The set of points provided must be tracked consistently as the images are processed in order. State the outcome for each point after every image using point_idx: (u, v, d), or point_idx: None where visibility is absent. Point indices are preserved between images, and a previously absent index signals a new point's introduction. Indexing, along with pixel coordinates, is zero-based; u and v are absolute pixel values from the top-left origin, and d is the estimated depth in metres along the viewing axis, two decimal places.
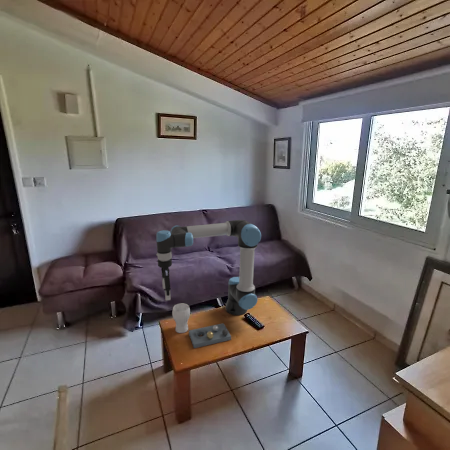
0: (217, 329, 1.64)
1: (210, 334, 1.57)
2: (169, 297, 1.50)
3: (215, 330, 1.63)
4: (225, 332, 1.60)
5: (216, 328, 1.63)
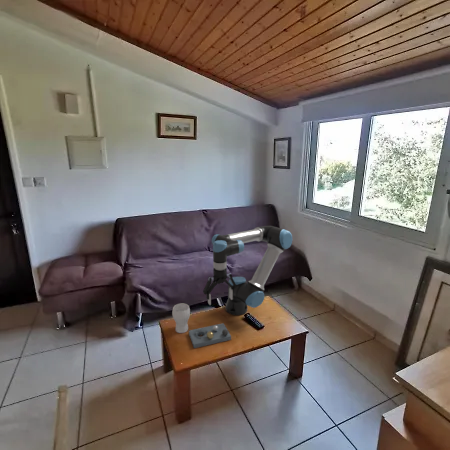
0: (217, 329, 1.64)
1: (210, 334, 1.57)
2: (209, 302, 1.58)
3: (215, 330, 1.63)
4: (225, 332, 1.60)
5: (216, 328, 1.63)
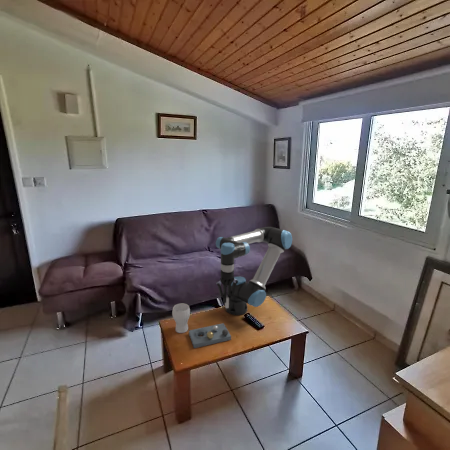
0: (217, 329, 1.64)
1: (210, 334, 1.57)
2: (226, 305, 1.62)
3: (215, 330, 1.63)
4: (225, 332, 1.60)
5: (216, 328, 1.63)
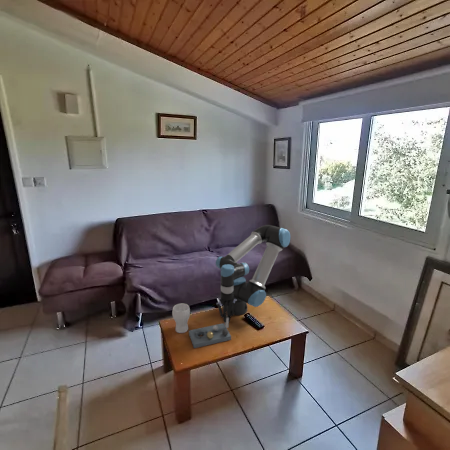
0: (217, 329, 1.64)
1: (210, 334, 1.57)
2: (225, 325, 1.66)
3: (215, 330, 1.63)
4: (225, 332, 1.60)
5: (216, 328, 1.63)
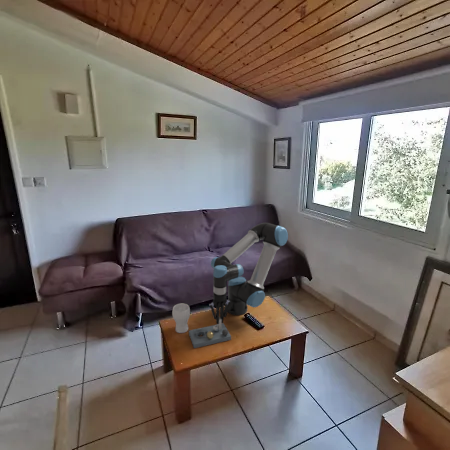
0: (217, 329, 1.64)
1: (210, 334, 1.57)
2: (218, 326, 1.64)
3: (215, 330, 1.63)
4: (225, 332, 1.60)
5: (216, 328, 1.63)
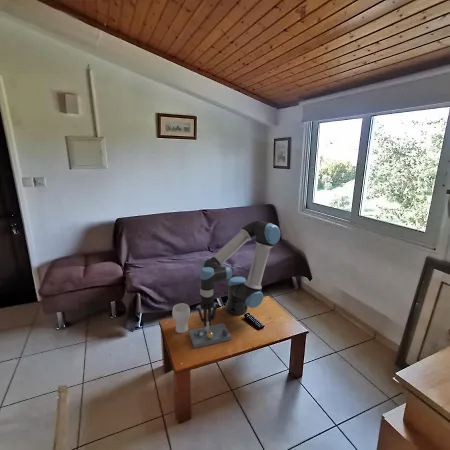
0: None
1: (210, 334, 1.57)
2: (206, 329, 1.62)
3: None
4: (225, 332, 1.60)
5: (203, 335, 1.61)
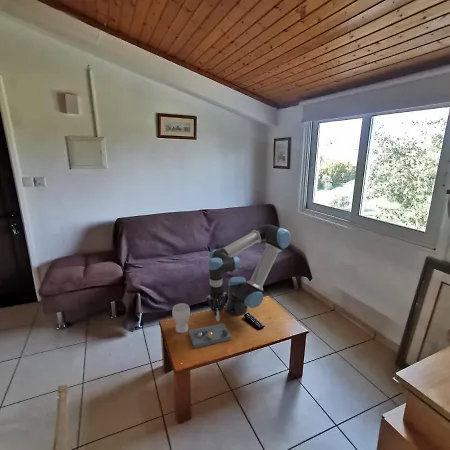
0: None
1: (210, 334, 1.57)
2: (216, 318, 1.65)
3: None
4: (225, 332, 1.60)
5: (201, 335, 1.61)
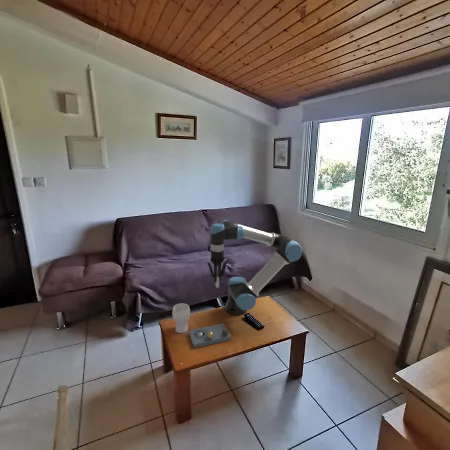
0: None
1: (210, 334, 1.57)
2: (216, 284, 1.67)
3: None
4: (225, 332, 1.60)
5: (201, 335, 1.61)
